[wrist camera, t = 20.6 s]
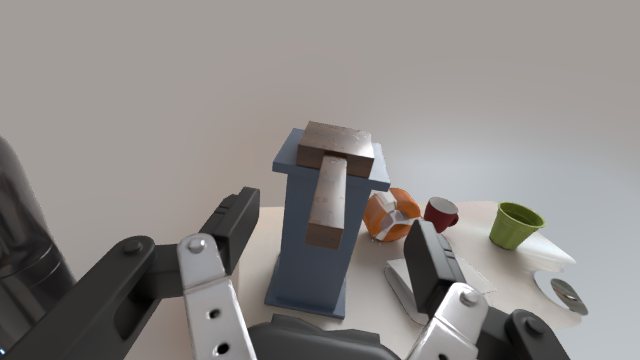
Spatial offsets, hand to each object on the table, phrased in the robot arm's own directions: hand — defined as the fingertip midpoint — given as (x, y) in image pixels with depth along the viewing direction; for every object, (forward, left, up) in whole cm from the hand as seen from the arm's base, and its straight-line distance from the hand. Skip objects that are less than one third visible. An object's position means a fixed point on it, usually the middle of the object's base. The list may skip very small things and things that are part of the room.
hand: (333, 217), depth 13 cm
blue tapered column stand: (+24, +11, -40) cm, 48 cm away
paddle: (+16, +7, -8) cm, 19 cm away
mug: (+63, -10, -40) cm, 75 cm away
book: (+42, -14, -40) cm, 59 cm away
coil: (+50, +2, -40) cm, 64 cm away
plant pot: (+73, -29, -40) cm, 88 cm away
